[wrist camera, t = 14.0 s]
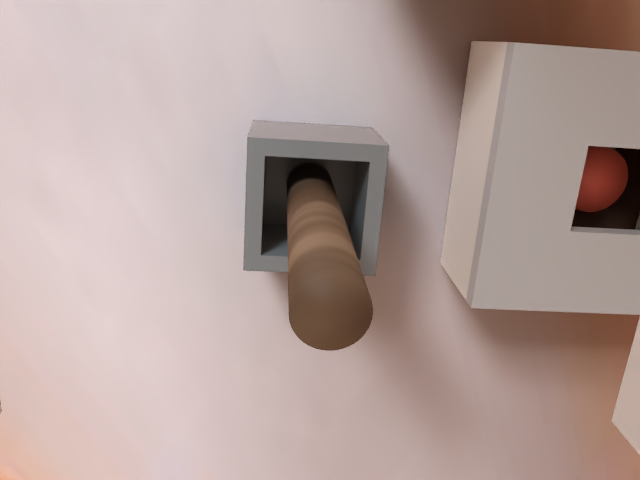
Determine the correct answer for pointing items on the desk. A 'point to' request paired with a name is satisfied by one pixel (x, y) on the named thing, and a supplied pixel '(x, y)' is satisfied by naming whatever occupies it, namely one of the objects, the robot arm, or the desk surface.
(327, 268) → the brown wooden rod
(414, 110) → the desk surface
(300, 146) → the pen cup
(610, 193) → the button
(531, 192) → the white box
